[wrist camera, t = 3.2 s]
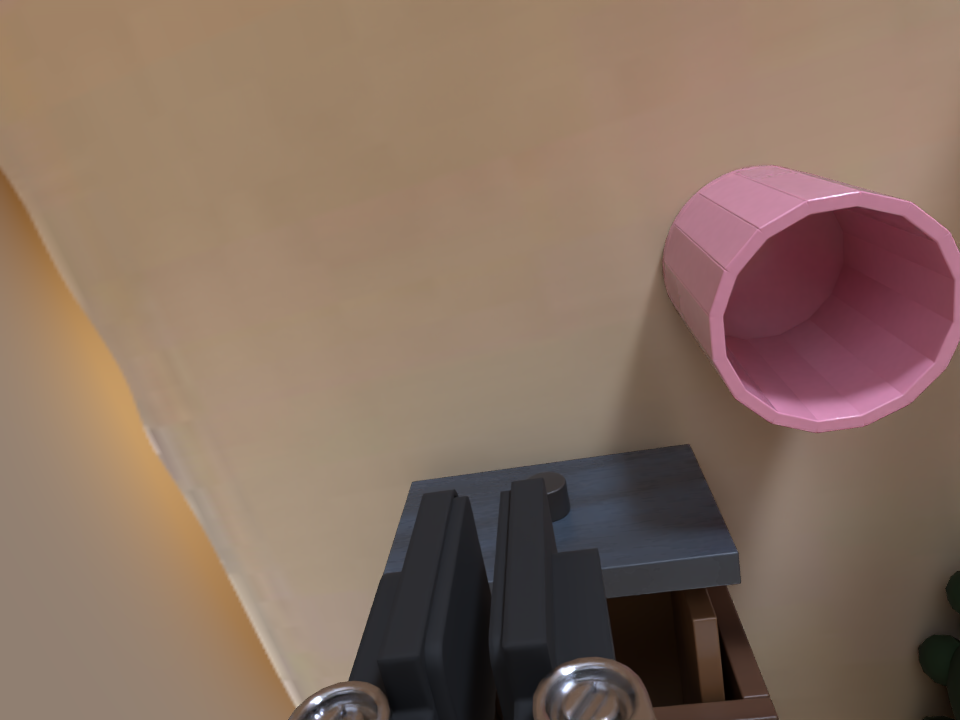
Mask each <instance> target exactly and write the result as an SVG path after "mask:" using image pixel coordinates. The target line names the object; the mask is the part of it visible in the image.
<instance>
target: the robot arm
mask: <svg viewBox="0 0 960 720" xmlns="http://www.w3.org/2000/svg"><path fill="white" fill-rule="evenodd" d="M496 689H497V693H498V698H499V702H500V706H501V711H502V715H503V719H504V720H657V718H656V716H655V713H654V710H653V707H652V704H651V701H650V698H649V695H648V692H647V689H646V687H645V686H644V684H643V682H642V680H641V679H640V677H639V676H638V675H637V674H636V673H635V672H634V671H633V670H631V669H630V668H629V667H628V666H626V665H624V664H622V663H619V662H617V661H616V660H615V653H614V646H613V639H612V632H611V626H610V619H609V613H608V606H607V600H606V593H605V587H604V581H603V575H602V569H601V562H600V556H599V550H598V548H592V549H584V550H576V551H567V552H559V553H558V552H557V546H556V541H555V536H554V530H553V525H552V519H551V514H550V508H549V503H548V497H547V492H546V487H545V482H544V479H543V477H541V478H534V479H527V480H519V481H512V483H511V490H507V491H501V493H500V503H499V515H498V527H497V540H496V552H495V564H494V576H493V588H492V596H491V591H490V587H489V583H488V578H487V574H486V569H485V565H484V560H483V556H482V551H481V547H480V543H479V538H478V534H477V529H476V525H475V520H474V516H473V511H472V507H471V503H470V499H469V497H468V496H462V497H458V494H457V491H456V490H455V489H452V490H445V491H437V492H430V493H424V494H423V496H422V499H421V503H420V506H419V510H418V513H417V517H416V521H415V524H414V528H413V531H412V535H411V539H410V542H409V546H408V549H407V553H406V557H405V560H404V564H403V568H402V571H401V572H393V573H386V574H384V575H383V576H382V578H381V580H380V583H379V586H378V589H377V592H376V595H375V598H374V601H373V605H372V608H371V611H370V614H369V617H368V620H367V624H366V627H365V630H364V633H363V636H362V639H361V643H360V646H359V649H358V652H357V655H356V658H355V662H354V665H353V668H352V671H351V674H350V677H349V681H348V682H340V683H337V684H334V685H331V686H328V687H326V688H323V689H321V690H320V691H318V692H316V693H315V694H313V695H311V696H310V697H308V698H307V699H306V700H305V701H304V702H303V703H301V704H300V705H299V706H298V707H297V708H296V709H295V710H294V712H293V713H292V715H291V716H290V718H289V719H288V720H494V716H495V700H496Z"/></svg>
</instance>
